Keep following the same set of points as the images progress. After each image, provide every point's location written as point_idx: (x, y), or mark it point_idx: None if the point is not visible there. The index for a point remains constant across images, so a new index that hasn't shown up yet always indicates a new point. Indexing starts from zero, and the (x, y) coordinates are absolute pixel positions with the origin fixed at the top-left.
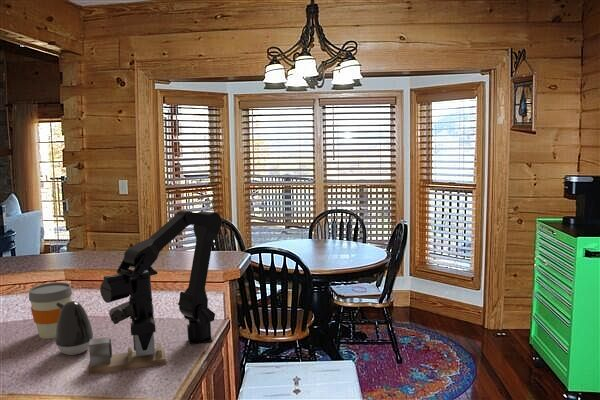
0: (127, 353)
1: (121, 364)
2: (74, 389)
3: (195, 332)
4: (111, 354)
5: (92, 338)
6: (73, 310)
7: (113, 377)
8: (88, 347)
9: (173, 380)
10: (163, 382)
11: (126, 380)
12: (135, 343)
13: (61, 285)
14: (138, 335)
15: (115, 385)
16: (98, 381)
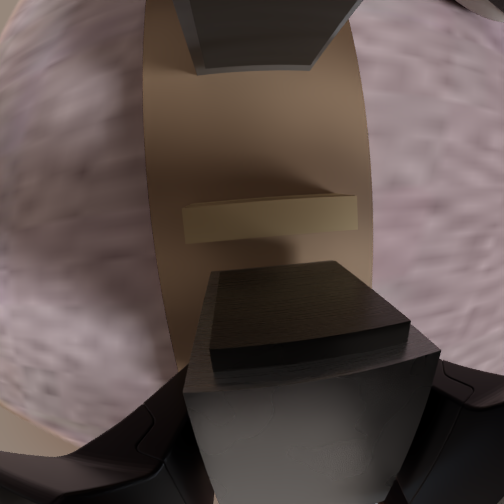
0: (355, 185)
1: (153, 159)
2: (39, 4)
3: (393, 497)
4: (222, 59)
5: (501, 11)
6: None
7: (77, 132)
8: (463, 3)
9: (42, 407)
10: (24, 375)
11: (33, 216)
12: (198, 326)
13: None
14: (76, 456)
15: (3, 170)
16: (62, 67)
